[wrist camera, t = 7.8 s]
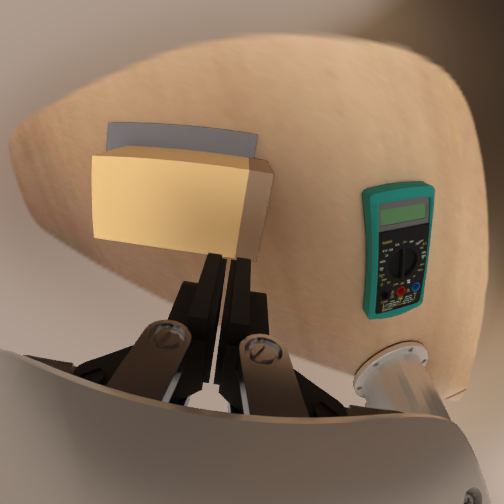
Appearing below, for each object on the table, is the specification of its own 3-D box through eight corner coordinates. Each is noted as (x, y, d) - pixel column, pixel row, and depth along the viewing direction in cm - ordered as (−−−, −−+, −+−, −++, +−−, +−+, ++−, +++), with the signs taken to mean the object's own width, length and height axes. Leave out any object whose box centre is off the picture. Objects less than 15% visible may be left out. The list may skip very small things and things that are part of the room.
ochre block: (256, 261, 19) (94, 237, 18) (254, 228, 24) (124, 210, 23) (274, 174, 16) (92, 155, 15) (267, 160, 21) (126, 145, 20)
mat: (237, 249, 25) (237, 251, 25) (107, 231, 24) (106, 232, 24) (257, 134, 21) (257, 134, 20) (110, 122, 20) (108, 122, 19)
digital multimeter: (361, 311, 30) (369, 327, 27) (359, 186, 23) (372, 195, 21) (413, 296, 29) (424, 311, 27) (422, 177, 23) (438, 185, 20)
